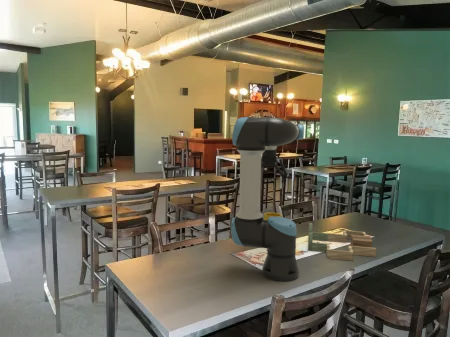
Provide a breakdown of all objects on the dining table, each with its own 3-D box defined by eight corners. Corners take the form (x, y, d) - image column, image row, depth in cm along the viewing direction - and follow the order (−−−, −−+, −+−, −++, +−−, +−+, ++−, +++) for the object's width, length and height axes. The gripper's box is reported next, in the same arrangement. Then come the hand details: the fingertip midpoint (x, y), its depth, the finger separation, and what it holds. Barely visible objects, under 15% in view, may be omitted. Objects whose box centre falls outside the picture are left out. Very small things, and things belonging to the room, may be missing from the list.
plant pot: (280, 228, 216) (281, 212, 215) (281, 233, 206) (282, 216, 205) (263, 227, 217) (263, 211, 216) (263, 232, 207) (264, 216, 206)
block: (371, 253, 176) (372, 241, 176) (352, 251, 178) (353, 239, 178) (368, 247, 185) (369, 236, 184) (350, 245, 187) (351, 234, 186)
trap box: (378, 263, 163) (380, 244, 162) (307, 256, 170) (308, 238, 169) (366, 239, 198) (367, 223, 197) (308, 234, 205) (309, 218, 204)
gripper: (293, 149, 194) (291, 188, 197) (248, 148, 201) (247, 185, 203) (292, 150, 187) (290, 190, 189) (245, 148, 193) (244, 187, 196)
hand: (268, 187), depth 196 cm, fingers open, 13 cm apart
